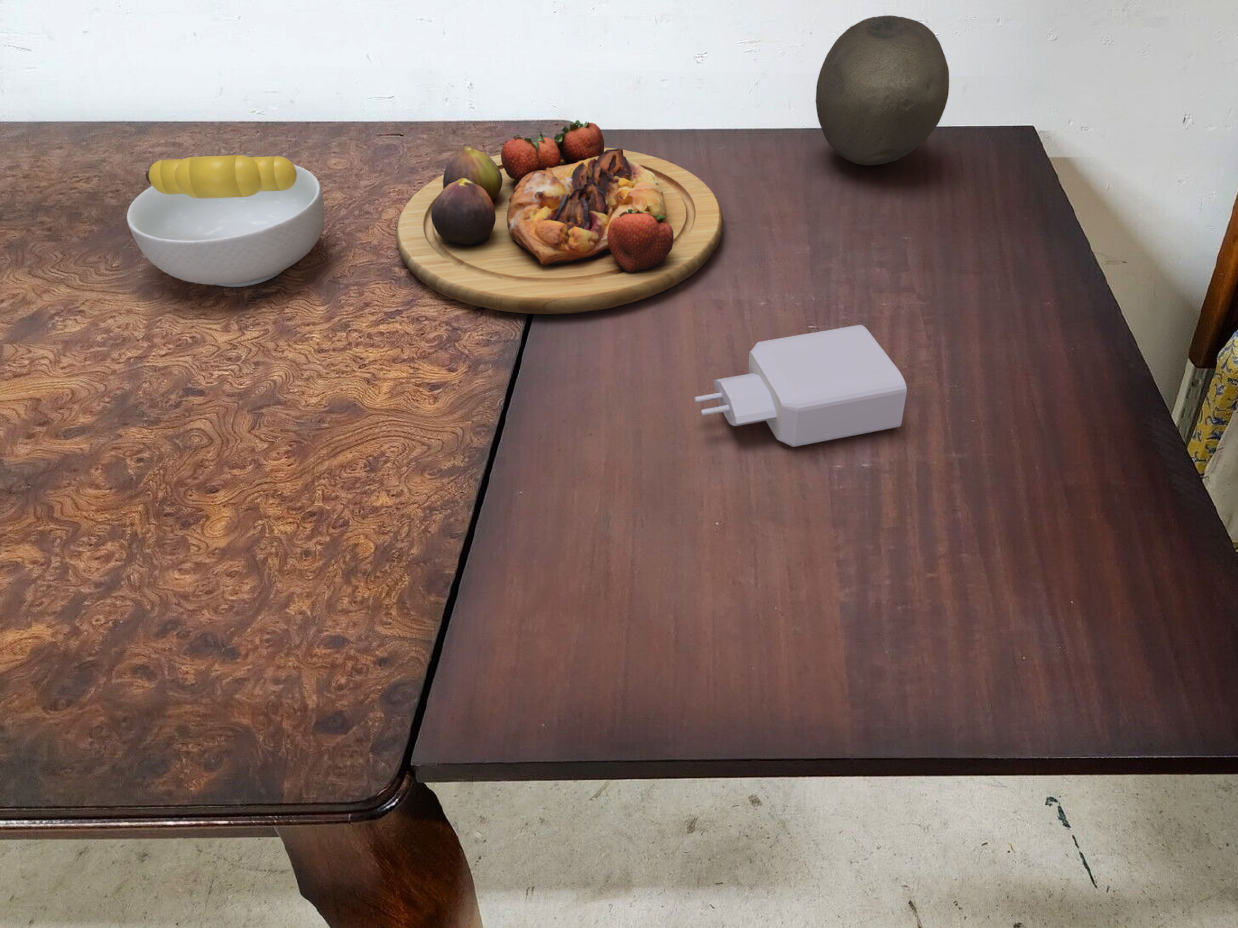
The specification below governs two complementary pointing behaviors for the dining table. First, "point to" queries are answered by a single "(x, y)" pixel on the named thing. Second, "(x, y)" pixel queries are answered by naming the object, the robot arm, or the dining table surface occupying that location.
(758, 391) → the charger
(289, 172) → the yellow lumpy cylinder
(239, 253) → the cereal bowl
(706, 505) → the dining table surface
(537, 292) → the wooden plate
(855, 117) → the kiwi fruit
